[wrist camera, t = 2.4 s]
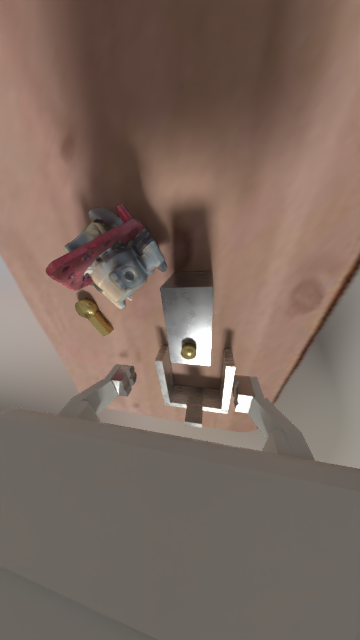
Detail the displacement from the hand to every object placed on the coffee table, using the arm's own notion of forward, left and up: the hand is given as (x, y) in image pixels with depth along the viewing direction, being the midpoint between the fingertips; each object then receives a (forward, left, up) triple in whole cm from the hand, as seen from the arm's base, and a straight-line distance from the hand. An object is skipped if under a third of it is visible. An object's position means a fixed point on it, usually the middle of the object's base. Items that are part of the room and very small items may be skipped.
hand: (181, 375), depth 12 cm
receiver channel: (+13, 0, -12) cm, 18 cm away
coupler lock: (-1, 0, -12) cm, 12 cm away
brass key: (+2, -17, -12) cm, 21 cm away
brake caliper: (-8, -9, -13) cm, 17 cm away
